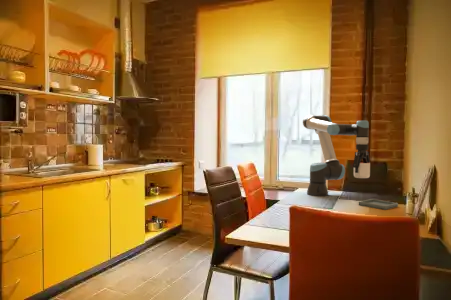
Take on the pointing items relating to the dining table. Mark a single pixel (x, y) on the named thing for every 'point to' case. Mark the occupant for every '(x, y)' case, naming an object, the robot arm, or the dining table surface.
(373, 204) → the tray
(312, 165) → the robot arm
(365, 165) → the cup
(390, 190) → the dining table surface
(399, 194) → the dining table surface
